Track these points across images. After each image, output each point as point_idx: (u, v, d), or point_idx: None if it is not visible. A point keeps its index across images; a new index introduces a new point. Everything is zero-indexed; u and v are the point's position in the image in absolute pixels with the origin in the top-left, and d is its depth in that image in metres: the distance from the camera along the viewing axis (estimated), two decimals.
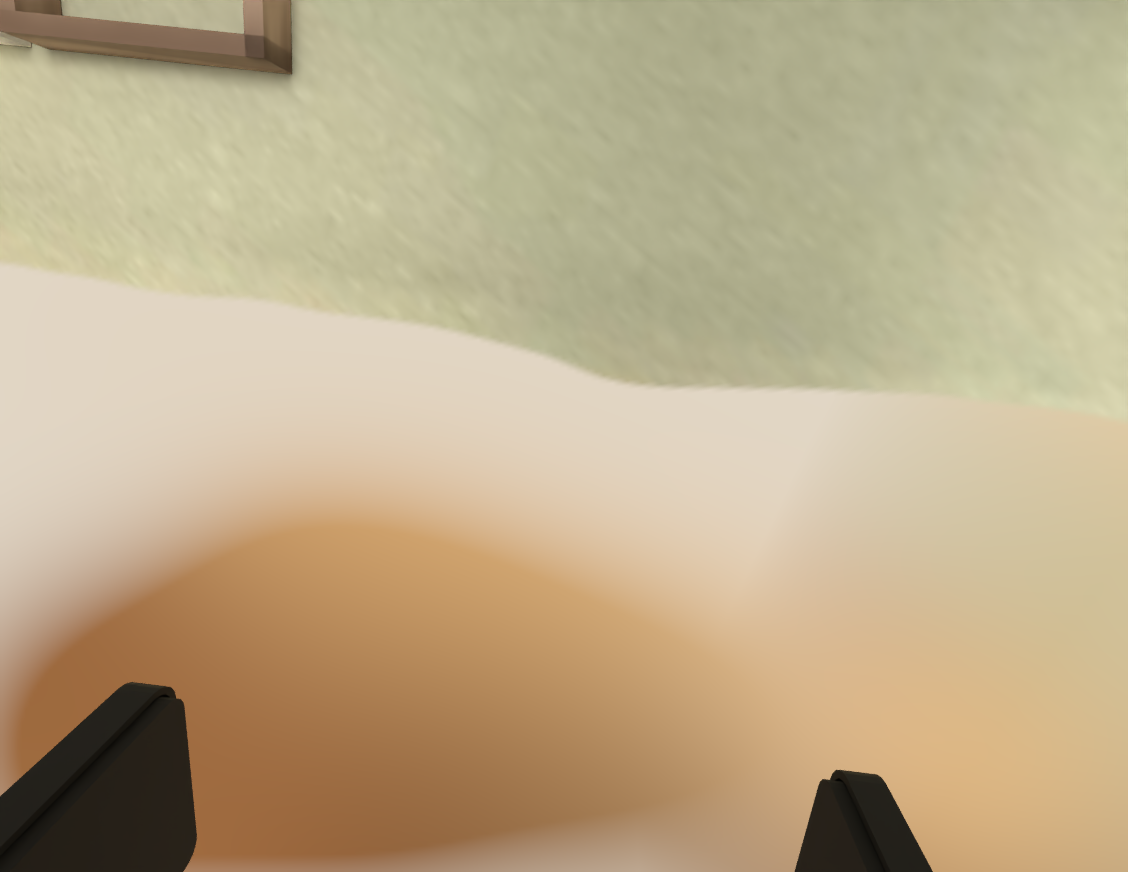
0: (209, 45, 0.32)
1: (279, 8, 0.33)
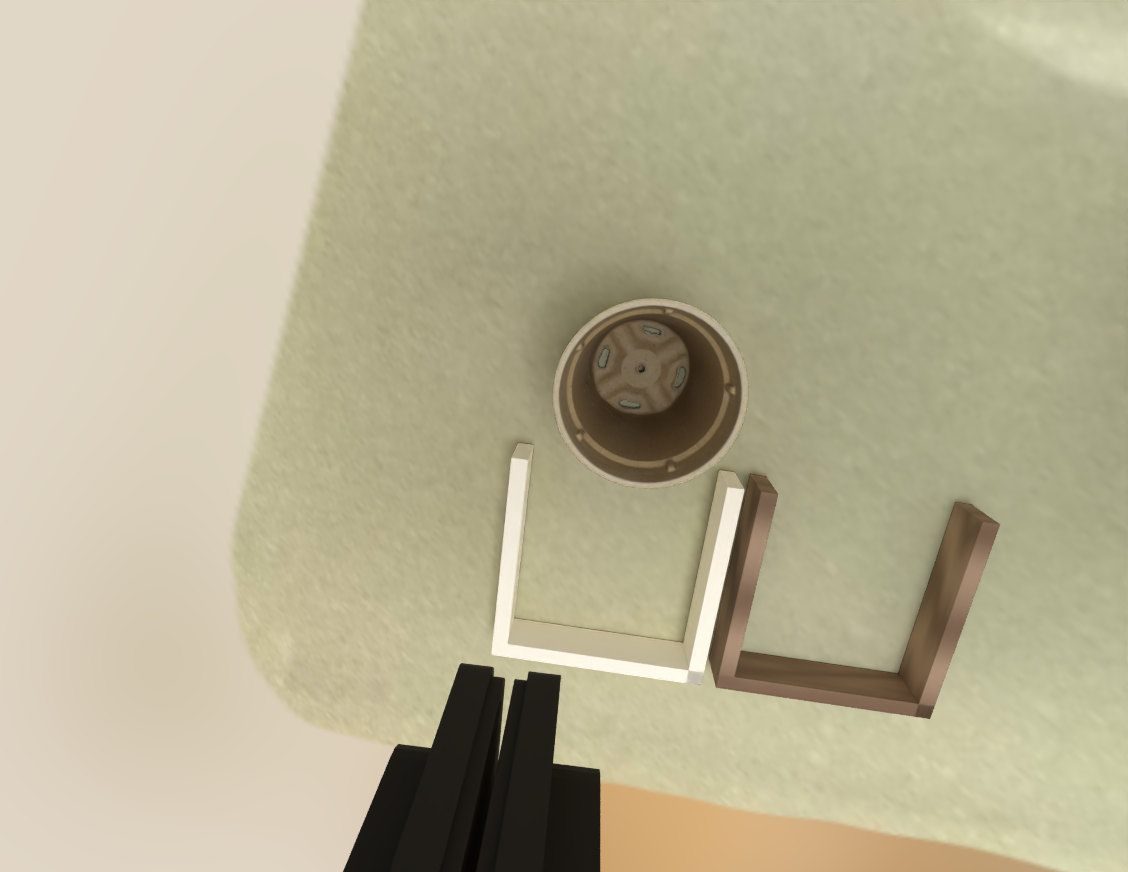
0: (887, 708, 0.41)
1: None
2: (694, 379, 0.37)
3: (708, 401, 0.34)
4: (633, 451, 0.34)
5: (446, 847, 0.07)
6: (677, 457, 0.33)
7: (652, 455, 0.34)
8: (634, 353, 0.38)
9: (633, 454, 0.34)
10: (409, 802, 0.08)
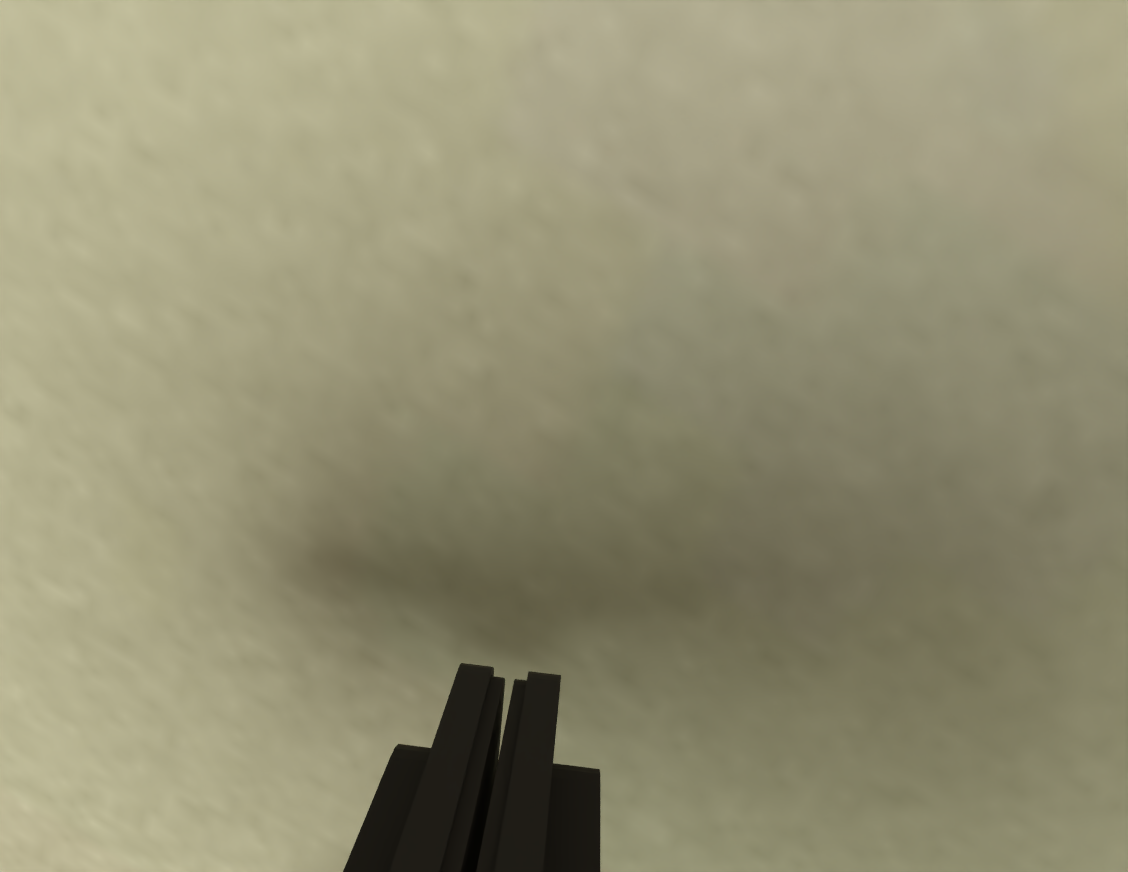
0: None
1: None
2: None
3: None
4: None
5: (445, 847, 0.07)
6: None
7: None
8: None
9: None
10: (410, 802, 0.08)
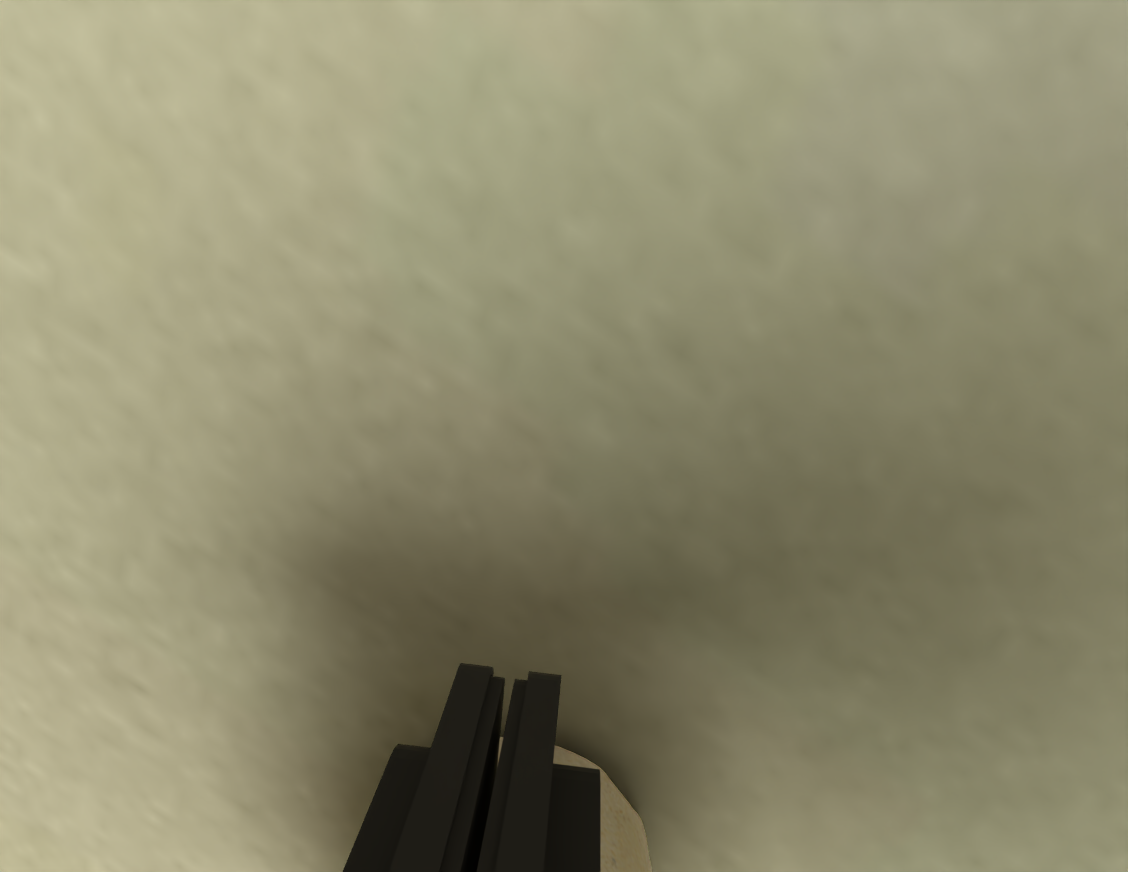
0: None
1: None
2: None
3: None
4: None
5: (445, 847, 0.07)
6: None
7: None
8: None
9: None
10: (409, 802, 0.08)
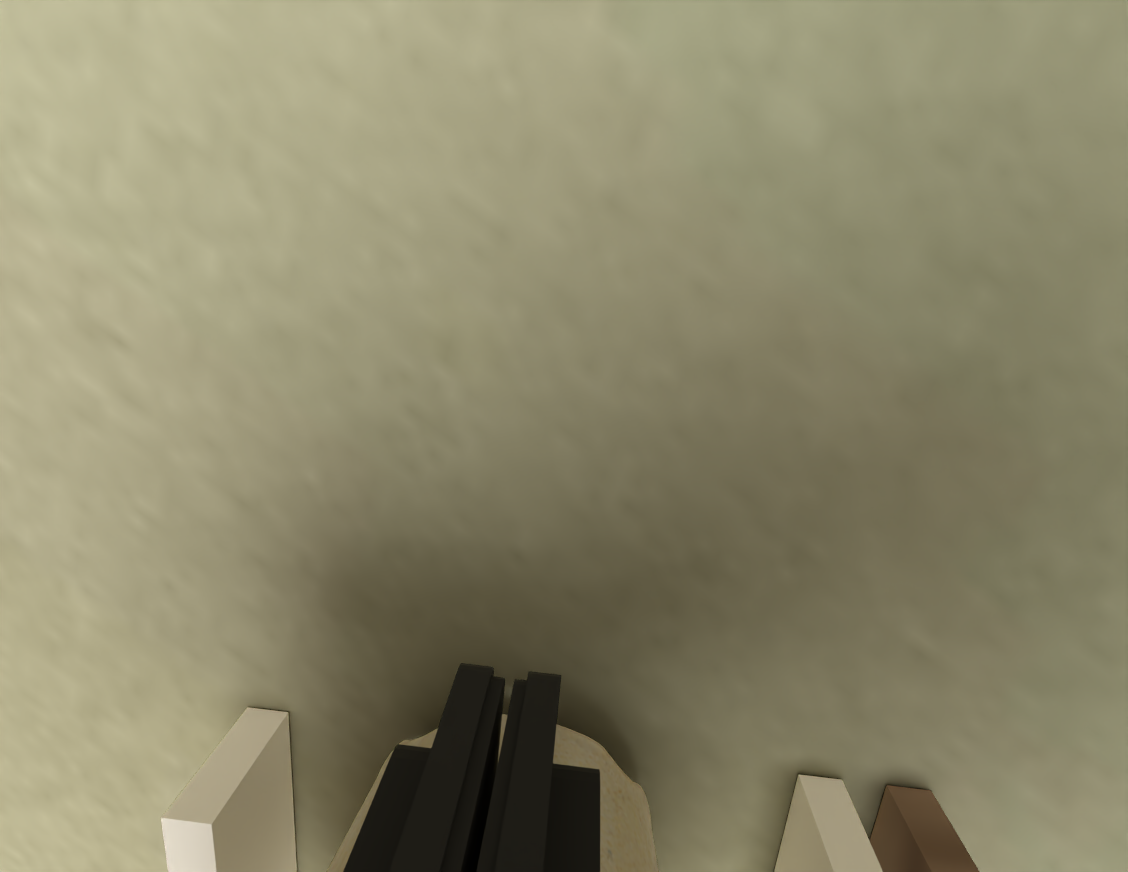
0: None
1: None
2: None
3: None
4: None
5: (445, 847, 0.07)
6: None
7: None
8: None
9: None
10: (410, 802, 0.08)
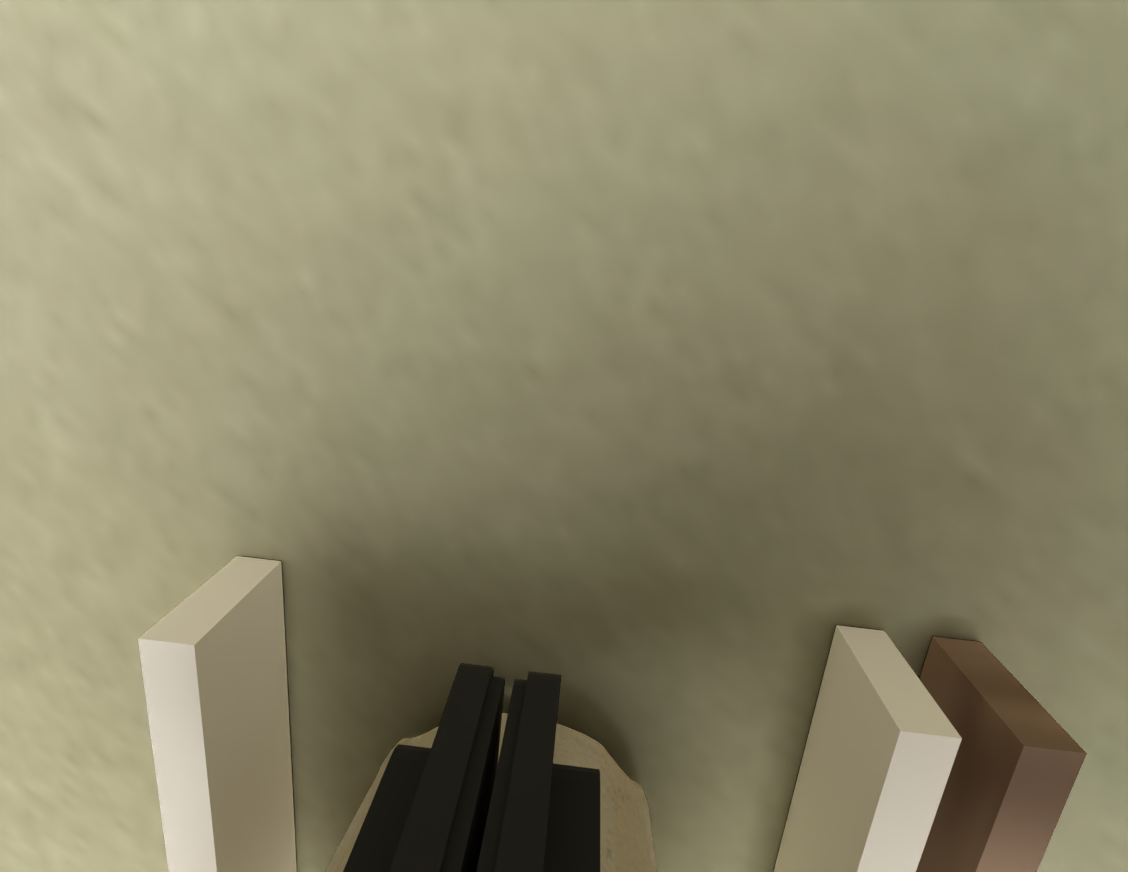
0: None
1: None
2: None
3: None
4: None
5: (445, 847, 0.07)
6: None
7: None
8: None
9: None
10: (409, 802, 0.08)
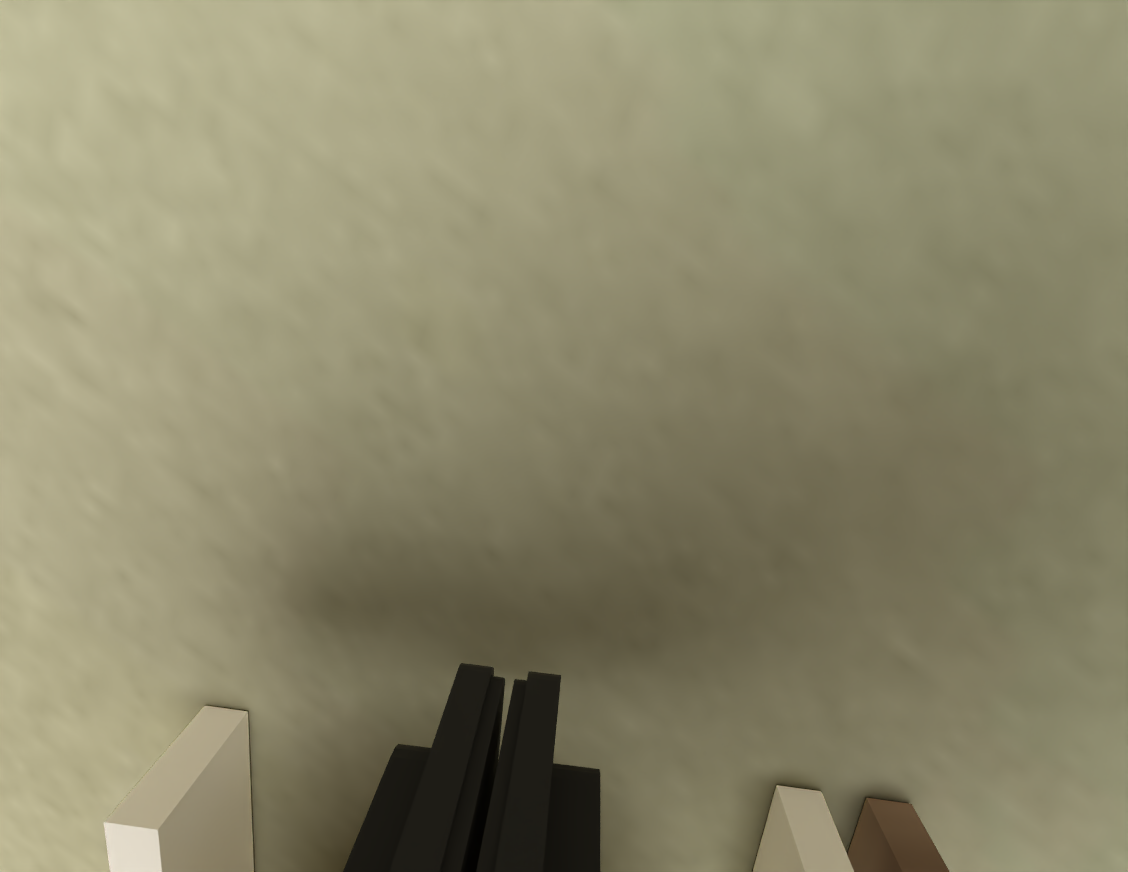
0: None
1: None
2: None
3: None
4: None
5: (445, 848, 0.07)
6: None
7: None
8: None
9: None
10: (409, 803, 0.08)
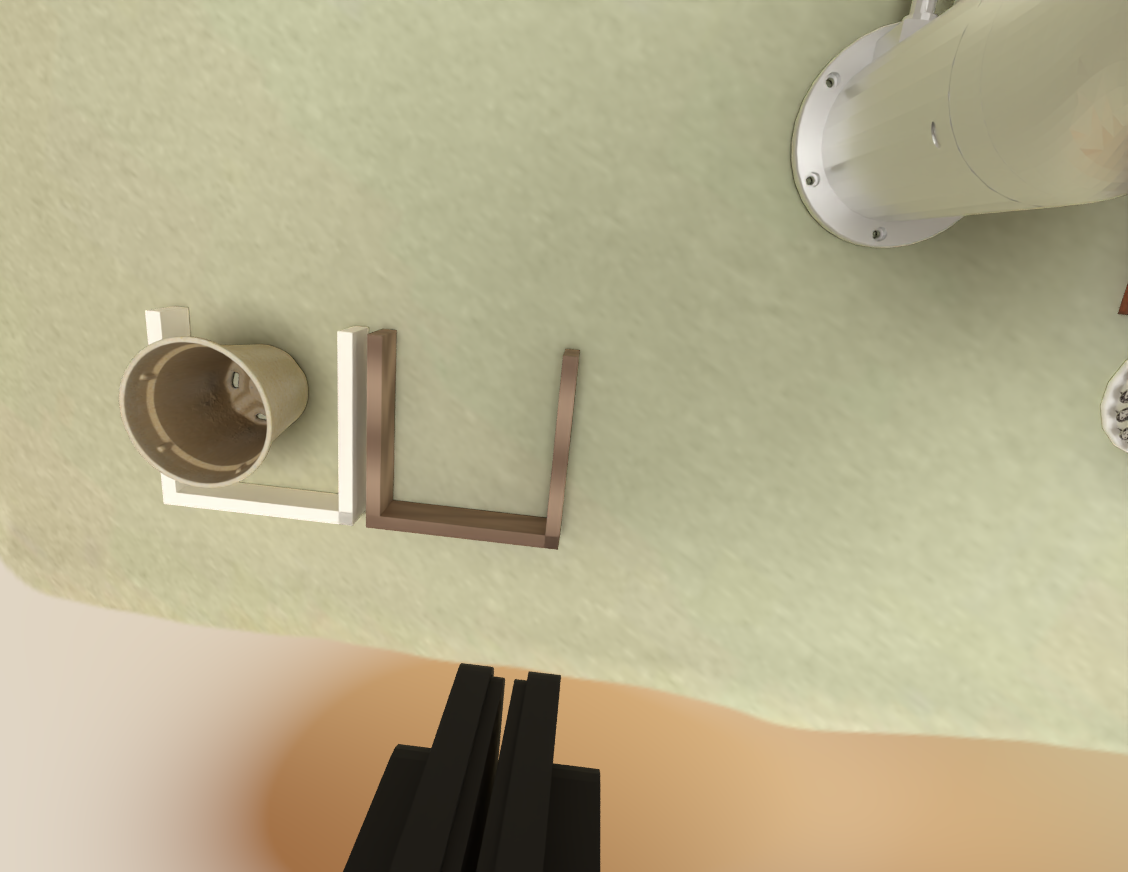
0: (518, 540, 0.45)
1: None
2: (300, 394, 0.44)
3: None
4: (227, 457, 0.41)
5: (445, 847, 0.07)
6: (250, 461, 0.40)
7: (239, 460, 0.41)
8: None
9: (223, 460, 0.41)
10: (409, 802, 0.08)
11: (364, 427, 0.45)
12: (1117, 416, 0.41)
